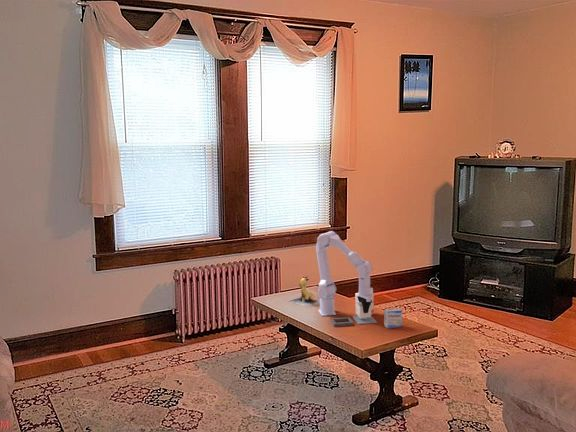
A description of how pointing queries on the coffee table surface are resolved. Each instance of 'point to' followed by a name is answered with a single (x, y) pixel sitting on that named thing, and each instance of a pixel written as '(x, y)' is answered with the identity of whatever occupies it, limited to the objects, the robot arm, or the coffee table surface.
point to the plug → (360, 311)
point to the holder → (341, 322)
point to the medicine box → (393, 318)
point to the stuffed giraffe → (305, 294)
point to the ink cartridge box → (371, 302)
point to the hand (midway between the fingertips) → (364, 311)
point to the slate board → (364, 320)
